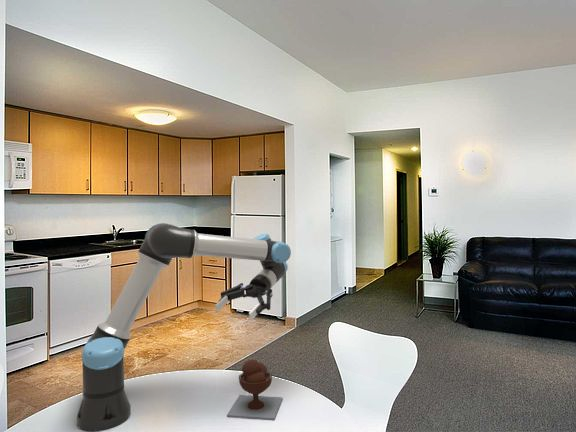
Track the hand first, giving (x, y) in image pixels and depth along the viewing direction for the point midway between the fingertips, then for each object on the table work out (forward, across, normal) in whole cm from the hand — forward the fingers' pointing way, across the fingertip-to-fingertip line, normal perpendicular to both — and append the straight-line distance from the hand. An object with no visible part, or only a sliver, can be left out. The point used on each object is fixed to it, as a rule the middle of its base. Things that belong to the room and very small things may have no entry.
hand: (232, 312), depth 137 cm
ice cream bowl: (+12, -13, -25) cm, 31 cm away
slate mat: (+12, -13, -25) cm, 31 cm away
